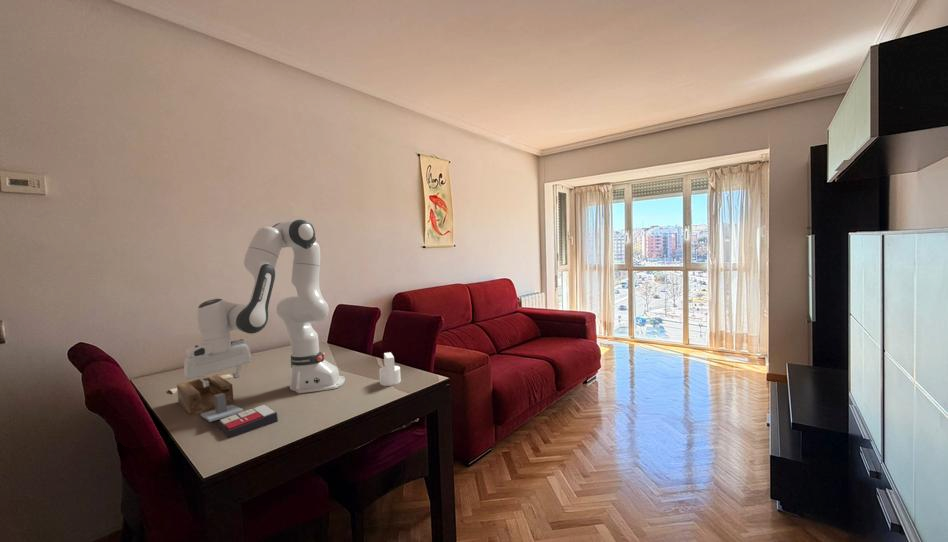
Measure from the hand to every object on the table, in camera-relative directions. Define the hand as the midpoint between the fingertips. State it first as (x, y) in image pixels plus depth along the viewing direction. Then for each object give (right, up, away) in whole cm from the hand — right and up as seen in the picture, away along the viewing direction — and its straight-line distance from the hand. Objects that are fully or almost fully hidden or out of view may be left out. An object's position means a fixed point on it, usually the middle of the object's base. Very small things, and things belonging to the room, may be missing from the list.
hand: (221, 382), depth 139 cm
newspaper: (-34, -12, +37) cm, 52 cm away
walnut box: (-15, -12, +14) cm, 24 cm away
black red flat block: (+14, -13, -7) cm, 21 cm away
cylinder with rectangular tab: (+55, -9, +29) cm, 63 cm away
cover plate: (+1, -11, -1) cm, 11 cm away
